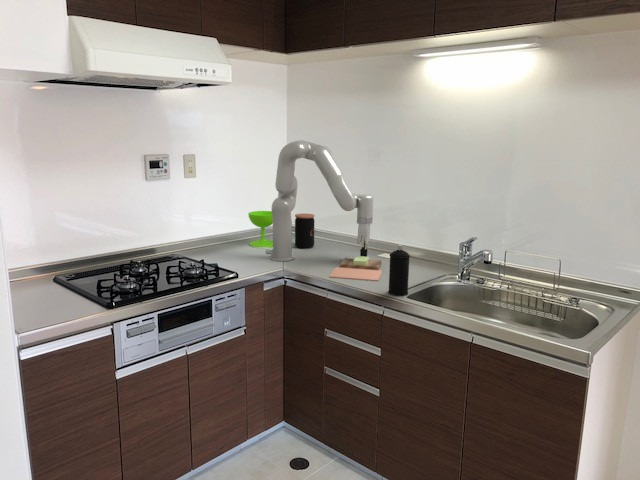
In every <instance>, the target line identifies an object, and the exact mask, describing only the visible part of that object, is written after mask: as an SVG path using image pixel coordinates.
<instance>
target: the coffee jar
mask: <svg viewBox="0 0 640 480" xmlns="http://www.w3.org/2000/svg"><path fill="white" fill-rule="evenodd" d="M294 217H295V219H294V245H295V247H296V248H297V249H301V250H309V249H313V248H314V246H315V219H314V218H315V214H313V213H297V214H295V215H294Z"/></svg>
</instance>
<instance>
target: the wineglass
mask: <svg viewBox="0 0 640 480" xmlns="http://www.w3.org/2000/svg"><path fill="white" fill-rule="evenodd" d="M248 218H249V221H250V222H251V223H252V224H253V225H254V226H255V227H259V228H261V229H260V231H261V232H260V235H261V239H257V240H253V241H251V242H249V244H250V245H251V246H255V247H269V248H273V240H270V239H266V237H265V236H266V232H265V231H266V229H265V228H267V227H270V226H271V225H272V226H273V219H272V210H256V211H250V212H248ZM251 246H250V247H251ZM255 247H254V248H255Z"/></svg>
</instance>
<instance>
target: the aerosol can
mask: <svg viewBox="0 0 640 480" xmlns="http://www.w3.org/2000/svg"><path fill="white" fill-rule="evenodd" d="M403 249H404V247H403V244H397V249H396V250H393V251H392V252H391V253H390V254H389V272H388V273H389V275H388V290H387V293H388V294H389V295H390V296H395V297H404V296H408V295H409V278H410V277H409V275H410V274H409V272H410V257H411V255H410V254H409V253H408V251H406V250H403Z"/></svg>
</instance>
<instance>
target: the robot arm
mask: <svg viewBox="0 0 640 480" xmlns="http://www.w3.org/2000/svg"><path fill="white" fill-rule="evenodd" d="M298 159H306V160H309V161H313V162H314V163H315V165H316V167H317V168H318V170H319V171H320V173H321V175H322V176H323V178H324V179H325V181H326V182H327V186H328V187H329V189H330V192H331V193H332V195H333V197H334V198H335V200H336V202H337V204H338V205H339V206H340V208H341V210H344V211H345V212H352V211H353V210H355V209H357V212H356V223H357V224H358V229H357V238H356V239H357V240H356V241H357V243H356V244H357V245H359V244H360V253H359V254H360V255H359V256H363V257H368V243H369V241H370V237H371V225H372V224H373V218H374V217H373V216H374V215H373V213H374V212H373V211H374V196H373V195H371V194H356V193H351V191H350V190H349V188H348V187H347V185H346V182H345V179H344V174H343V172H342V170H341V169H340V167H339V166H338V164H337V162H336V161H335V158H334V157H333V153H332V150H331V148H329V147H328V146H324V145H321V144H316V143H314V142H310V141H307V140H303V139H302V140H301V139H299V140H295V141H292V142H289V143H286V144H285V145H284V146H283V147H282V148H281V150H280V152H279V155H278V160H277V168H276V175H275V176H276V177H275V185H274V186H275V189H276V191H277V192H278V193H277V194H278V195H277V197H276V198H275V199H274V200H273V202H272V203H271V211H272V219H273V224H272V241H273V247H272V249H268V248H267V249H265V254H266V255H270V256H269V259H270V260H271V261H275V262H289V261H294V260H295V258H296V256H295V255H294V254H293V242H292V241H293V227H292V226H293V225H292V224H293V223H292V212H293V210H294V209H295V207H296V204H297V203H296V202H297V193H298V180H297V177H296V176H295V170H296V161H297V160H298Z"/></svg>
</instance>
